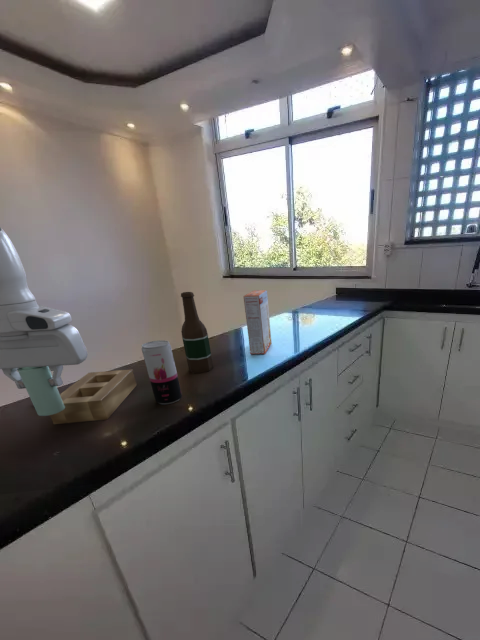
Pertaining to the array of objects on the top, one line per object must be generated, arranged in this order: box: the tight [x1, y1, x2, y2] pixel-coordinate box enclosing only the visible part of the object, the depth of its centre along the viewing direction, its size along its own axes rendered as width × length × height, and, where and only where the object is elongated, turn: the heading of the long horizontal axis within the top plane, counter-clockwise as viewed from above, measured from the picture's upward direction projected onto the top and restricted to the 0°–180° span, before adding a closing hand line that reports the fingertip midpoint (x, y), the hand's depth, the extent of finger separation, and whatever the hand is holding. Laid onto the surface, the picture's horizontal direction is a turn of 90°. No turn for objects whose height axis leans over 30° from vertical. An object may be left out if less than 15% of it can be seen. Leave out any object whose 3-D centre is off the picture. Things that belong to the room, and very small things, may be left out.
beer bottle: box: [180, 291, 214, 374], centre depth 96 cm, size 8×8×24 cm
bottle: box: [17, 366, 65, 417], centre depth 63 cm, size 5×5×15 cm
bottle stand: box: [49, 368, 138, 425], centre depth 80 cm, size 12×21×5 cm, turn 8°
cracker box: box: [243, 289, 272, 355], centre depth 115 cm, size 14×6×21 cm, turn 174°
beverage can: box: [141, 339, 183, 405], centre depth 78 cm, size 7×6×15 cm
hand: (41, 386), depth 64 cm, fingers closed on bottle, 5 cm apart
